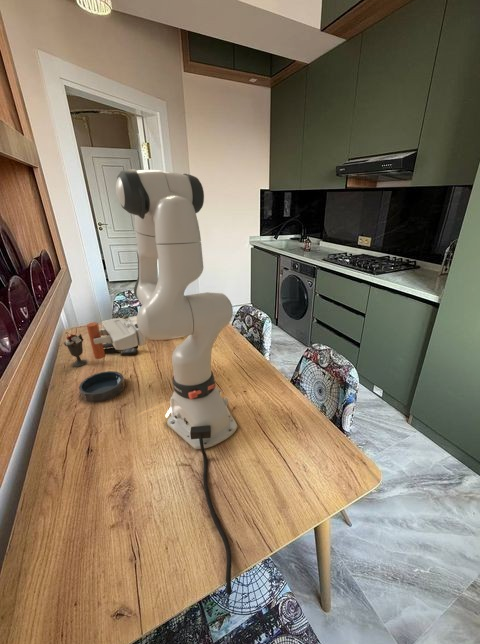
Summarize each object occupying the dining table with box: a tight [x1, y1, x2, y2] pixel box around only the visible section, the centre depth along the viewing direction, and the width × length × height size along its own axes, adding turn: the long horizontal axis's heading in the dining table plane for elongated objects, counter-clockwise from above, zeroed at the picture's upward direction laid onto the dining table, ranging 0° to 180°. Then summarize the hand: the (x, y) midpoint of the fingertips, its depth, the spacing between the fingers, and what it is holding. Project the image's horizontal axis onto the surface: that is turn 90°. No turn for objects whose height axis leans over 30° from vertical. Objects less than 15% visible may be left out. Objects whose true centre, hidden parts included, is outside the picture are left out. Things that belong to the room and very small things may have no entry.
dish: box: [78, 370, 126, 403], centre depth 101 cm, size 14×14×4 cm
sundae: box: [63, 331, 88, 368], centre depth 115 cm, size 7×7×15 cm
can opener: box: [102, 343, 139, 357], centre depth 125 cm, size 18×7×6 cm, turn 89°
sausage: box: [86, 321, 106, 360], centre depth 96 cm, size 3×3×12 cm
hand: (92, 338), depth 95 cm, fingers closed on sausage, 3 cm apart
